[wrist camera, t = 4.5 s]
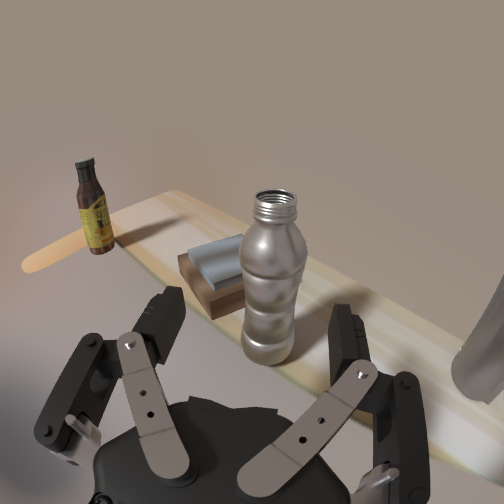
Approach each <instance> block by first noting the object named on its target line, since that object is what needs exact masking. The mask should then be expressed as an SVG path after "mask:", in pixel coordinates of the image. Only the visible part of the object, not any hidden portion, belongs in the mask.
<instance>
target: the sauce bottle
mask: <svg viewBox="0 0 504 504" xmlns="http://www.w3.org/2000/svg"><path fill="white" fill-rule="evenodd" d="M94 164H95V162H94V158H93V157H88V158H85V159H81V160H79V161H76V162H75V166H76V169H77V173H78V178H79V183H80V184H79V188H78V191H77V201H78V206H79V207H78V208H79V213H80V217H81V221H82V225H83V229H84V233H85V236H86V240H87V244H88V246H89V248H90V251H91V253H92V254H95V255H100V254H104V253H106V252H108V251H110V250H111V249H113V247H114V235H113V231H112V226H111V222H110V217H109V212H108V208H107V203H106V198H105V193H104V191H103V189H102V187H101V186H100V184H99V182H98V180H97V178H96V174H95V168H94Z"/></svg>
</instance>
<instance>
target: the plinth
mask: <svg viewBox="0 0 504 504" xmlns="http://www.w3.org/2000/svg"><path fill="white" fill-rule="evenodd" d="M243 237H244V235H242V234H239V235H235V236H232V237H229V238H225V239H222V240H218V241H215V242H212V243H208V244H205V245H201V246H198V247H195V248H191V249H188V253H185V254H182V255H178V256H177V257H178V263H179V268H180V273H181V275H182V276H183V278H184V279H185V281H186V282H187V284H188V285H189V287H190V288H191V290H192V291H193V293H194V294H195V296H196V297H197V299H198V300H199V302H200V303H201V305H202V306H203V308H204V309H205V311H206V312H207V313H208V315H209V316H210V318H211V319H212V320H213V319H216V318H219V317H221V316H224V315H226V314H229V313H231V312H233V311H236V310H238V309H241V308H243V307H246V303H245V290H244V281H243V276H242V270H241V265H240V260H239V247H240V244H241V240H242V238H243Z"/></svg>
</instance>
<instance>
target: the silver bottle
mask: <svg viewBox="0 0 504 504" xmlns="http://www.w3.org/2000/svg"><path fill="white" fill-rule="evenodd" d="M296 206H297V197H296V195H295V194H294V193H292V192H290V191H286V190H281V189H266V190H261V191H259V192H257V193H256V194H255V195H254V209H253V218H254V219H255V220H256V221H255V222H254V223H253V224H252V225H251V227H250V228H249V229H248V231H247V232H246V234H245V235H244V237H243V238H242V240H241V244H240V247H239V260H240V265H241V270H242V276H243V281H244V290H245V303H246V307H245V318H244V324H243V327H242V332H241V344H242V348H243V351H244V353H245V355H246V356H247V357H248V358H249V359H250V360H251V361H253V362H255V363H257V364H260V365H264V366H270V365H275V364H278V363H280V362H282V361H284V360H285V359H286V358H287V357H288V356H289V355H290V353H291V351H292V348H293V346H294V344H295V327H294V312H295V302H296V297H297V292H298V287H299V284H300V281H301V278H302V274H303V271H304V268H305V264H306V260H307V254H308V252H307V246H306V241H305V239H304V237H303V236H302V234H301V232H300V230H299V229H298V227H297V226H296V225H295V223H294V221H295V220H296V218H297V210H296Z"/></svg>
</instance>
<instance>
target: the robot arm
mask: <svg viewBox="0 0 504 504" xmlns="http://www.w3.org/2000/svg"><path fill="white" fill-rule="evenodd" d="M185 314H186V307H185V302H184V296H183V291H182V288H181V287H174V286H167V287H166V289H165V290H164V292H163V294H157V295H156V296H154V297H153V298H152V299H151V300H150V302H149V303H148V305H147V307H146V308H145V310H144V312H143V313H142V315H141V316H140V318H139V319H138V321H137V323H136V325H135V326H134V328H133V330H132V331H131V332H127V333H124V334H123V335H121V336H120V337H119V338H118V340H103V338H102V336H101V335H100V334H98V333H89V334H87V335H85V336H84V337H83V338H82V339H81V341H80V342H79V344H78V345H77V347H76V349H75V351H74V352H73V354H72V356H71V357H70V359H69V361H68V363H67V364H66V366H65V368H64V370H63V372H62V373H61V375H60V377H59V379H58V381H57V382H56V384H55V386H54V388H53V390H52V392H51V394H50V396H49V398H48V400H47V401H46V404H45V406H44V408H43V410H42V412H41V414H40V416H39V418H38V420H37V422H36V424H35V427H34V436H35V438H36V440H37V441H38V442H39V443H40V444H42V445H43V446H44V447H46V448H47V449H48V450H49V451H50V452H52V453H53V454H55V455H56V456H58V457H59V458H61V459H63V460H65V461H67V462H68V463H70V464H72V465H81V466H84V467H85V468H88V469H90V470H92V471H93V472H94V479H95V490H94V495H93V497H92V499H91V501H90V502H89V503H88V504H426V503H427V502H428V500H429V497H430V465H429V450H428V439H427V430H426V422H425V415H424V408H423V401H422V395H421V390H420V384H419V381H418V379H417V377H416V376H415V375H414V374H412V373H410V372H406V371H404V372H400V373H398V374H397V375H396V376H391V375H388V374H384V373H381V372H379V371H378V370H377V368H376V366H375V365H374V364H373V363H371V360H370V354H369V348H368V343H367V338H366V333H365V328H364V323H363V321H362V320H361V318H360V317H359V315H354V314H351V309H350V305H349V304H337V303H335V305H334V308H333V312H332V315H331V319H330V323H329V327H328V344H329V361H330V383H331V389H330V390H329V391H325V392H324V393H323V394H322V395H321V396H320V397H319V398H318V399H317V400H316V401H315V402H314V404H313V405H312V406H311V407H310V408H309V409H308V410H307V411H306V412H305V413H304V414H303V415H302V416H301V417H300V418H299V419H298V420H297V421H296V422H295V423H293V422H291V421H290V420H288V419H287V418H285V417H283V416H280V415H277V411H278V409H271V408H261V407H248V408H236V409H232V408H228V407H226V406H224V405H221V404H219V403H216V402H214V401H211V400H207V399H203V398H197V397H192V396H189V399H188V401H185V402H178V403H175V404H172V405H169V403H168V401H167V399H166V396H165V394H164V391H163V389H162V386H161V384H160V381H159V378H158V376H157V373H156V370H155V367H156V364H157V363H159V364H163V365H164V364H165V362H166V359H167V357H168V355H169V353H170V350H171V348H172V346H173V343H174V341H175V339H176V337H177V335H178V332H179V330H180V328H181V326H182V323H183V321H184V319H185ZM452 376H453V379H454V382H455V384H456V386H457V387H458V389H459V390H460V391H461V392H462V393H463V394H464V395H465V396H466V397H468V398H470V399H472V400H476V401H484V402H486V403H487V404H489V403H490V402H491V401H492V400H493V399H494V398H495V397H496V396H497V395H498V394H499V393H500V392H501V391H502V390H503V389H504V275H503V277H502V279H501V282H500V283H499V285H498V287H497V289H496V292H495V294H494V295H493V297H492V299H491V301H490V303H489V304H488V307H487V308H486V310H485V312H484V313H483V315H482V317H481V319H480V320H479V322H478V323H477V325H476V327H475V328H474V330H473V331H472V333H471V335H470V336H469V338H468V339H467V341H466V342H465V344H464V345H463V346H462V347H461V349H460V350H459V352H458V354H457V355H456V356H455V358H454V360H453V362H452ZM118 378H122V380H123V384H124V388H125V391H126V395H127V398H128V402H129V405H130V409H131V412H132V415H133V418H134V421H135V424H136V426H135V427H133V428H131V429H130V430H128V431H126V432H125V433H123V434H121V435H119V436H118V437H116V438H114V439H112V440H111V441H109V442H107V443H105V444H104V445H102V446H101V445H100V444H101V432H100V430H99V429H98V426H99V423H100V421H101V418H102V416H103V413H104V411H105V408H106V406H107V404H108V401H109V399H110V396H111V394H112V392H113V389H114V387H115V385H116V382H117V380H118ZM356 409H358V410H361V411H365V412H368V413H372V414H373V469H372V470H371V471H369V472H368V473H366V474H365V475H364V476H363V477H362V479H361V481H360V484H359V487H358V489H357V491H356V492H355V493H354V494H349V491H348V489H347V488H346V486H345V485H344V484H343V483H342V481H341V480H340V479H339V478H338V477H337V475H336V474H335V473H334V472H333V471H332V469H331V468H330V467H329V466H328V464H327V463H326V462H325V461H324V459H323V458H322V457H321V456H320V454H319V453H320V452H321V451H322V450H323V449H324V448H325V447H326V445H327V444H328V443H329V442H330V441H331V440H332V438H333V437H334V436H335V435H336V433H337V432H338V431H339V430H340V428H342V426H343V425H344V424H345V423H346V421H347V420H348V419H349V418H350V416H351V415H352V414H353V413H354V411H355V410H356Z"/></svg>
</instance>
